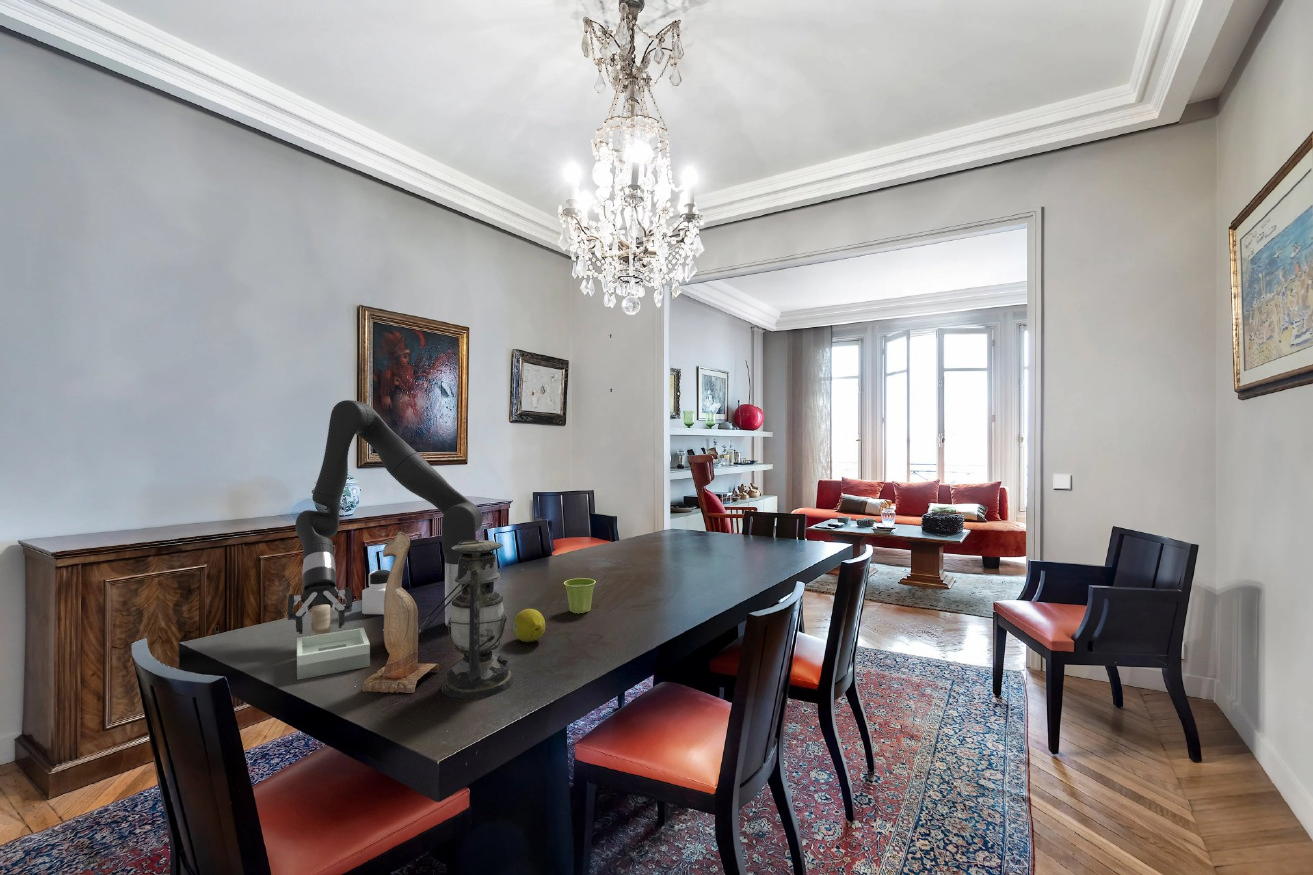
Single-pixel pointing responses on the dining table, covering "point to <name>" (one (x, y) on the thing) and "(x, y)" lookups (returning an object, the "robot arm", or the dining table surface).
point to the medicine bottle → (375, 593)
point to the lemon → (529, 625)
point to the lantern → (476, 625)
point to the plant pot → (579, 594)
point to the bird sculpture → (399, 630)
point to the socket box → (332, 653)
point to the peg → (320, 619)
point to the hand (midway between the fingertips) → (321, 629)
